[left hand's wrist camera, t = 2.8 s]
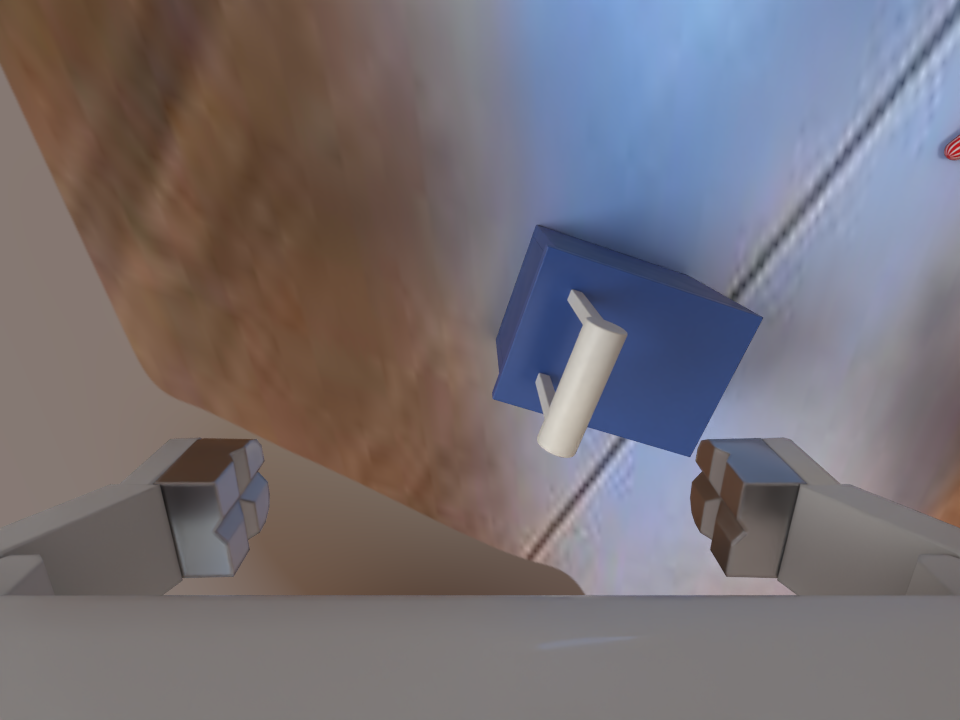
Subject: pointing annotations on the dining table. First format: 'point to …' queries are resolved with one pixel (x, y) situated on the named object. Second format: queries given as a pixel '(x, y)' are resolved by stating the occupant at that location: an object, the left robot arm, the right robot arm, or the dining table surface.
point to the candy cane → (953, 149)
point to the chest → (593, 252)
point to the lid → (619, 355)
